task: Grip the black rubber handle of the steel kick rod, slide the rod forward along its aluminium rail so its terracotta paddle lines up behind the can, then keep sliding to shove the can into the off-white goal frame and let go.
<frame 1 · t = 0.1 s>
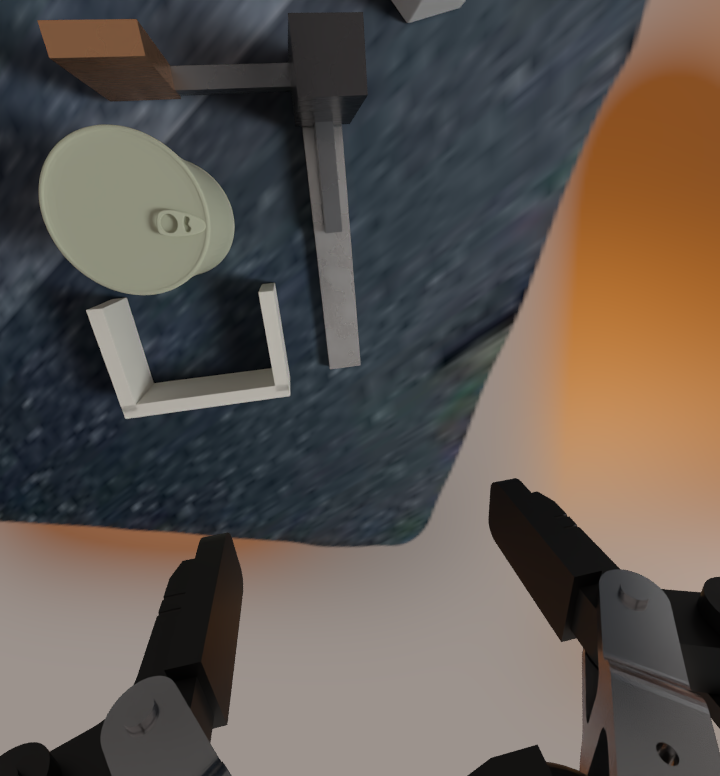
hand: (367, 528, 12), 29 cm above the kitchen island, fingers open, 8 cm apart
can: (179, 219, 33), on the kitchen island
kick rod: (238, 150, 27), point 5 cm above the kitchen island, slide at 0.0 cm
rail: (331, 232, 35), on the kitchen island
goal frame: (206, 332, 37), on the kitchen island
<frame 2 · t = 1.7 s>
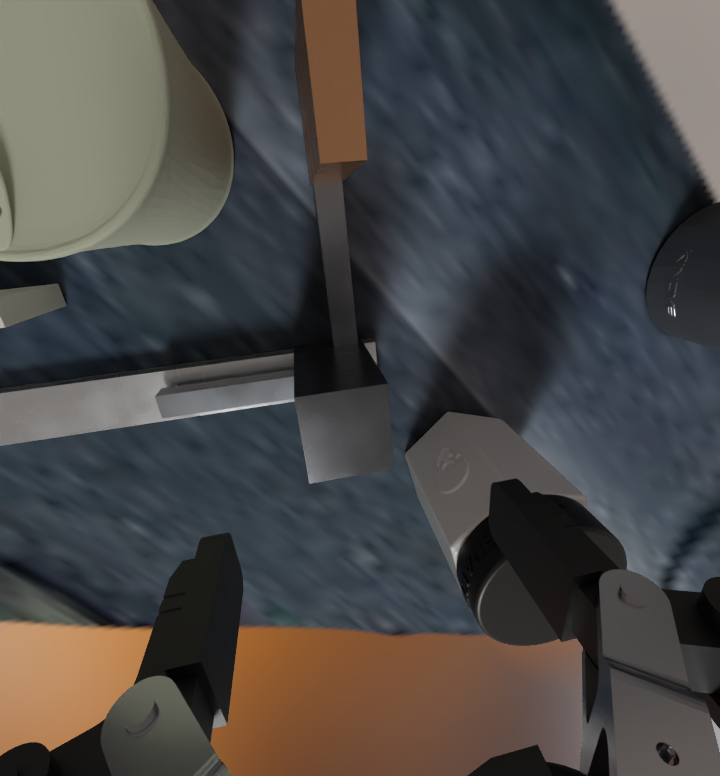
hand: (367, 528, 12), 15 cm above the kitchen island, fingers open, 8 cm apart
can: (139, 147, 19), on the kitchen island
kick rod: (234, 280, 17), point 5 cm above the kitchen island, slide at 0.0 cm
rail: (171, 389, 24), on the kitchen island
jar: (457, 457, 30), on the kitchen island
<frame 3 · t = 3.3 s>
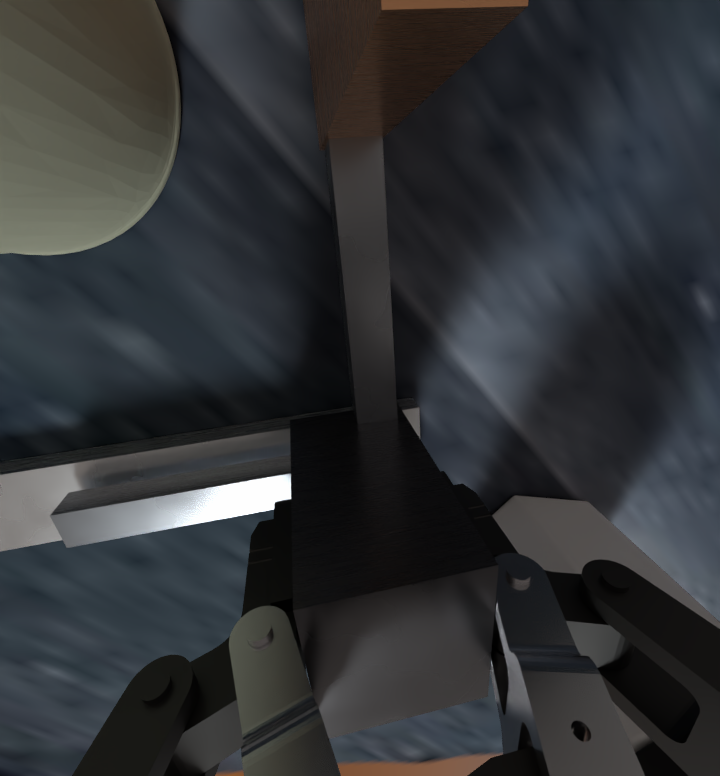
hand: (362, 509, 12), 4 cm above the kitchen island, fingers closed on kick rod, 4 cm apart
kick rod: (169, 332, 9), point 5 cm above the kitchen island, slide at 0.0 cm, touching gripper
rail: (94, 484, 15), on the kitchen island
jar: (520, 550, 21), on the kitchen island
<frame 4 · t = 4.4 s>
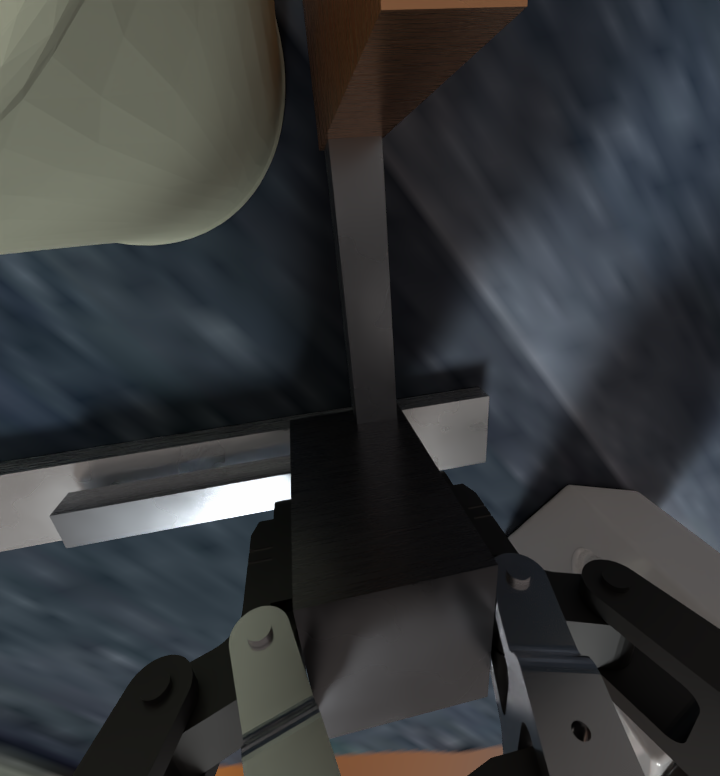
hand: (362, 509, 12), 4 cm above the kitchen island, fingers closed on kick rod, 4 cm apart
can: (115, 67, 11), on the kitchen island
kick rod: (168, 332, 9), point 5 cm above the kitchen island, slide at 3.0 cm, touching gripper
rail: (172, 471, 15), on the kitchen island
jar: (568, 540, 22), on the kitchen island
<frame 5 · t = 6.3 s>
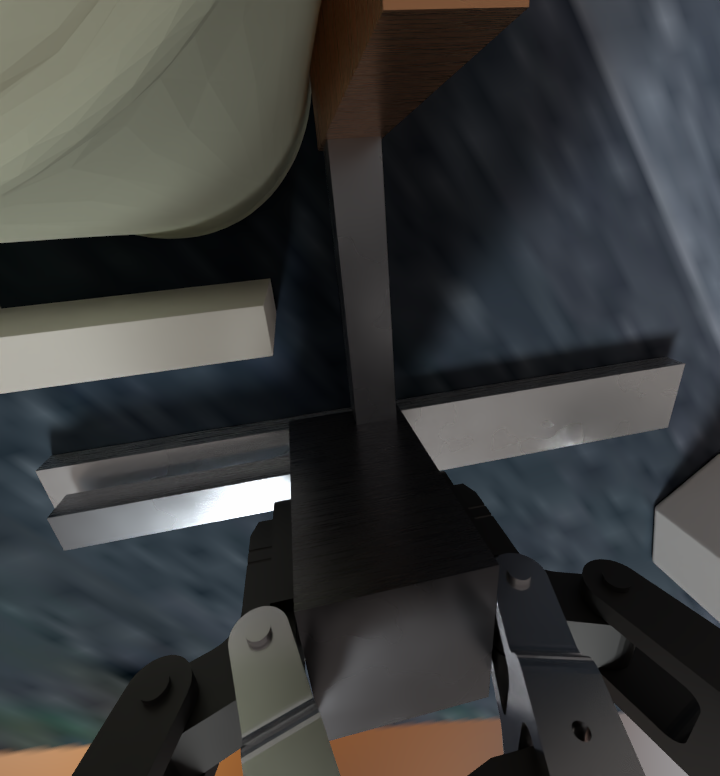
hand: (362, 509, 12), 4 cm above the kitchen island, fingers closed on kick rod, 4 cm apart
can: (143, 59, 11), on the kitchen island, touching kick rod
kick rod: (168, 333, 8), point 5 cm above the kitchen island, slide at 12.2 cm, touching can, gripper
rail: (393, 433, 17), on the kitchen island
goal frame: (78, 65, 10), on the kitchen island
jar: (707, 508, 23), on the kitchen island
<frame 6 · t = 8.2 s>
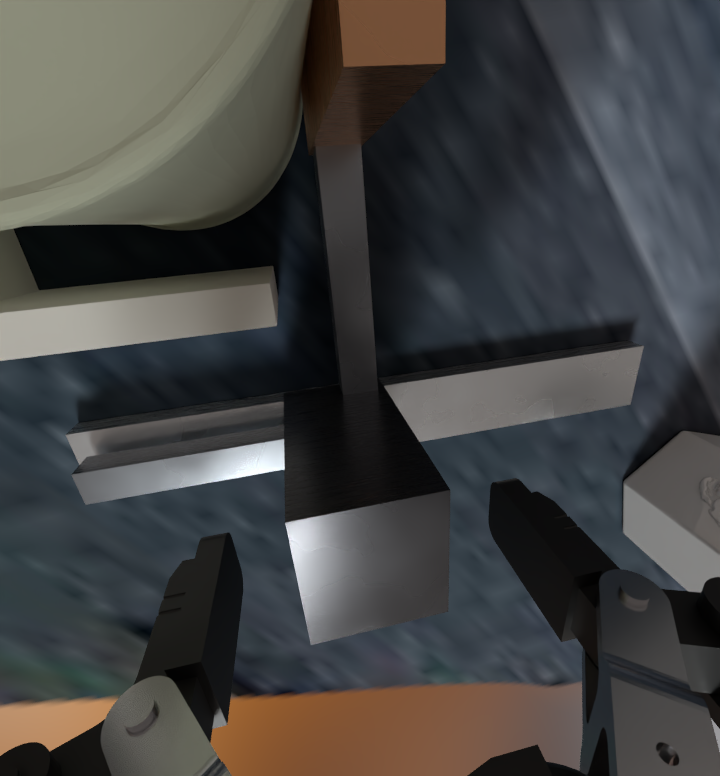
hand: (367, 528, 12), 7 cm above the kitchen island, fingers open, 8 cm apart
can: (159, 76, 12), on the kitchen island
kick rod: (182, 306, 10), point 5 cm above the kitchen island, slide at 12.4 cm
rail: (382, 408, 18), on the kitchen island
goal frame: (111, 81, 12), on the kitchen island
jar: (672, 483, 25), on the kitchen island
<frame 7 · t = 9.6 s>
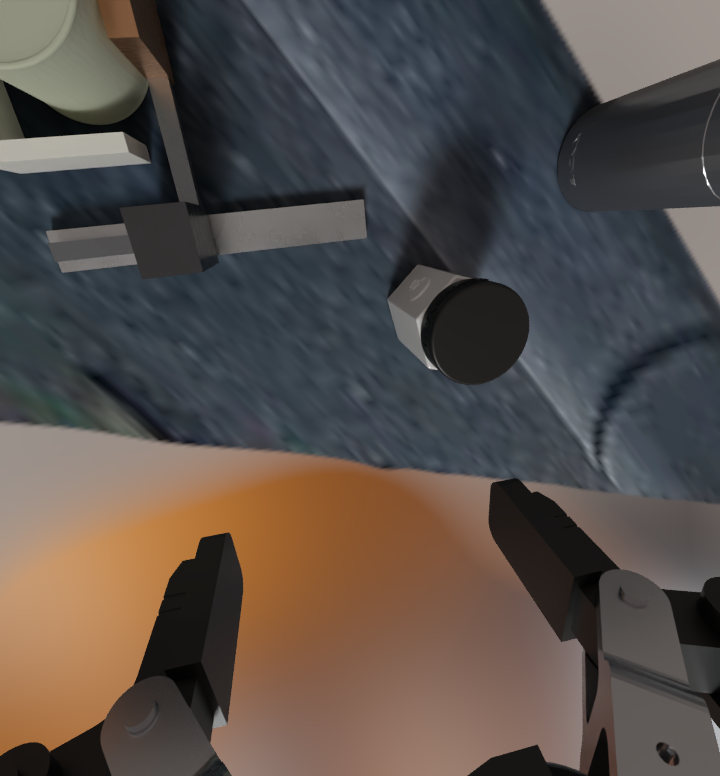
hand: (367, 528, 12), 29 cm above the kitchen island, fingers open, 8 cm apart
can: (82, 50, 28), on the kitchen island
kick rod: (87, 140, 26), point 5 cm above the kitchen island, slide at 12.4 cm
rail: (219, 234, 34), on the kitchen island
goal frame: (60, 52, 27), on the kitchen island
jar: (426, 306, 40), on the kitchen island
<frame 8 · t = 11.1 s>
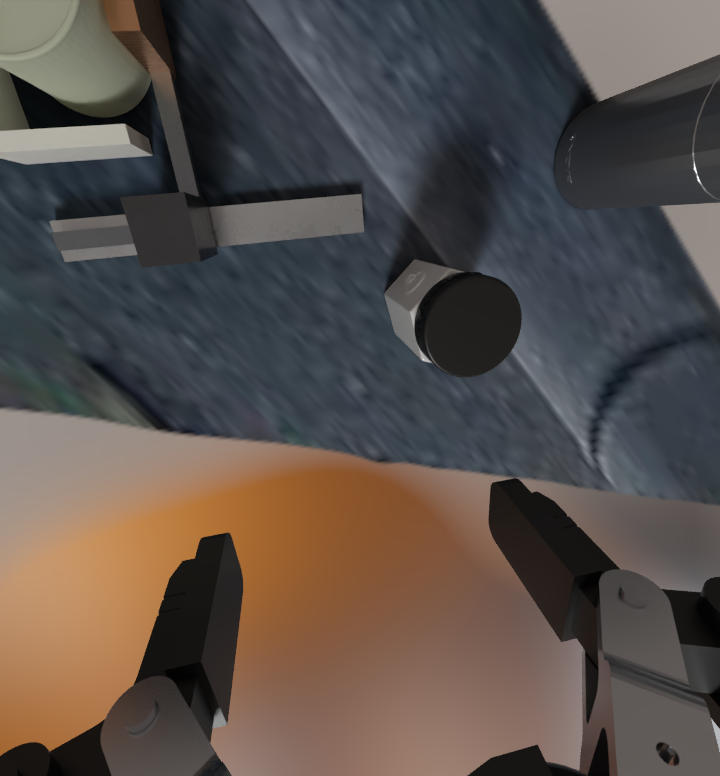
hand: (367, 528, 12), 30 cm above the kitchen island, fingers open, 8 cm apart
can: (87, 44, 28), on the kitchen island
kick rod: (90, 131, 26), point 5 cm above the kitchen island, slide at 12.4 cm
rail: (219, 226, 34), on the kitchen island
goal frame: (66, 46, 28), on the kitchen island
jar: (423, 301, 41), on the kitchen island
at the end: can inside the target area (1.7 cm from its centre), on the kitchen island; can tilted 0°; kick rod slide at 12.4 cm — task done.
